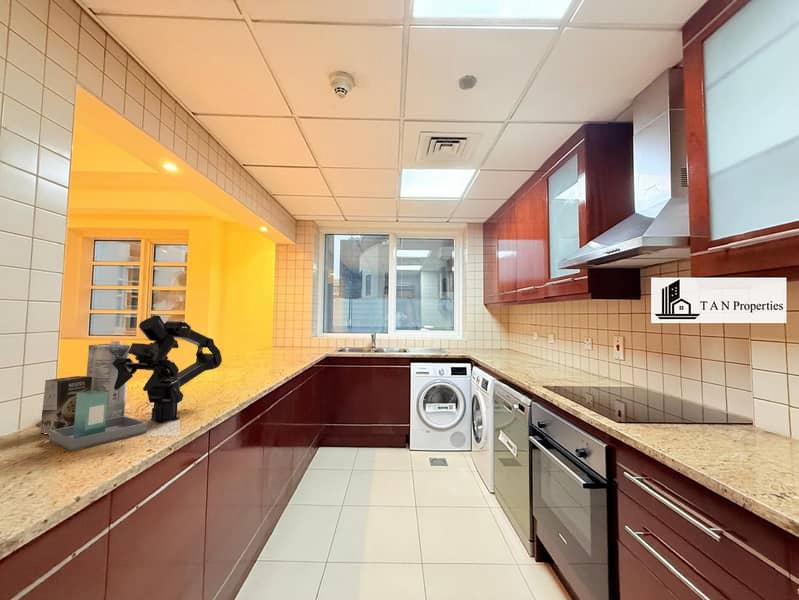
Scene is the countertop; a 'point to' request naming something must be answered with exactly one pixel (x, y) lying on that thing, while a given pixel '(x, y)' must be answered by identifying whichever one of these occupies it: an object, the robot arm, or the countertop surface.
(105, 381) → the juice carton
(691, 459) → the countertop surface
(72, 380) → the coffee box
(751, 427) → the countertop surface
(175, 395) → the robot arm
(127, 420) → the tray
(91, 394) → the tea tin
